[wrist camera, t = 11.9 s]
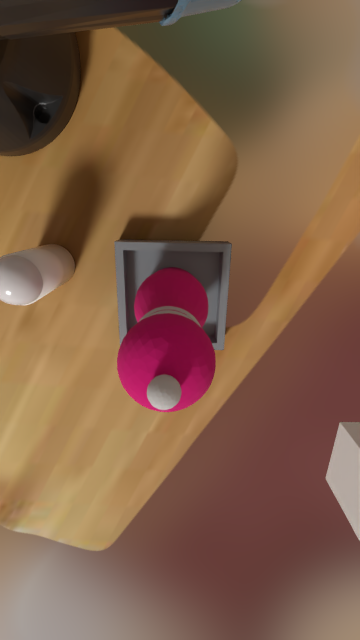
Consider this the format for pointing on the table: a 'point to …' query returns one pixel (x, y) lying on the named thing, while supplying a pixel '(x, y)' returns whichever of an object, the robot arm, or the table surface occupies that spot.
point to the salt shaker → (34, 273)
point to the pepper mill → (168, 343)
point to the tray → (193, 256)
